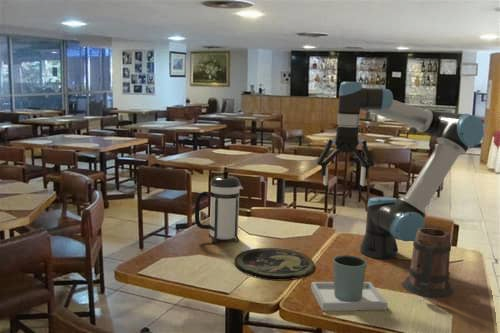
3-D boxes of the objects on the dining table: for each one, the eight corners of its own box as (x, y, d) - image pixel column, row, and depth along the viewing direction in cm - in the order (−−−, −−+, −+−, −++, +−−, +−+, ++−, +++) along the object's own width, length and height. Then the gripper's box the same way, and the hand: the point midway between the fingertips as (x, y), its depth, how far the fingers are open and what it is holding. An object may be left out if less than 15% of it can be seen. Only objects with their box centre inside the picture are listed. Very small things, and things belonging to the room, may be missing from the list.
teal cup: (366, 304, 153) (369, 266, 151) (333, 302, 153) (336, 265, 151) (359, 290, 163) (362, 255, 161) (329, 289, 163) (331, 254, 161)
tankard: (405, 274, 181) (410, 221, 178) (455, 284, 174) (461, 229, 171) (395, 299, 160) (400, 239, 157) (451, 310, 153) (458, 248, 150)
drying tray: (369, 288, 167) (370, 281, 167) (386, 310, 151) (387, 302, 151) (311, 289, 165) (311, 281, 165) (322, 311, 149) (323, 303, 149)
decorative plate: (226, 270, 175) (243, 243, 204) (225, 275, 175) (243, 248, 204) (311, 280, 169) (317, 251, 198) (311, 285, 170) (316, 256, 199)
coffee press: (219, 231, 225) (221, 165, 220) (247, 238, 216) (250, 170, 211) (193, 240, 211) (194, 170, 206) (222, 248, 202) (224, 176, 197)
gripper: (378, 126, 180) (373, 183, 184) (310, 124, 178) (307, 182, 181) (386, 128, 173) (381, 187, 176) (315, 126, 170) (311, 186, 174)
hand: (343, 185), depth 179 cm, fingers open, 13 cm apart
